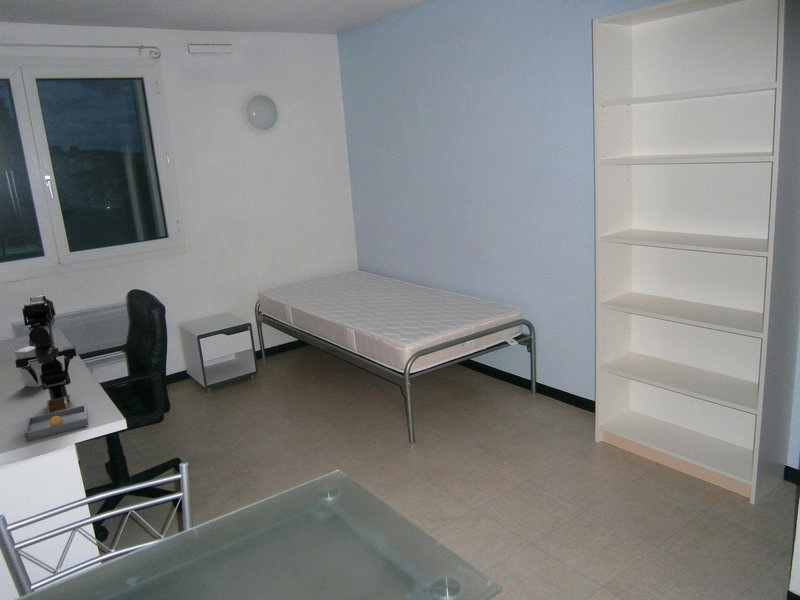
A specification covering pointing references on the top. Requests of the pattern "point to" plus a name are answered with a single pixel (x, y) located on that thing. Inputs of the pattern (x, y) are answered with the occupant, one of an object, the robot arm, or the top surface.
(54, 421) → the ball
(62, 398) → the scoop
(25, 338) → the top surface
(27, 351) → the skincare box
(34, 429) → the tray
